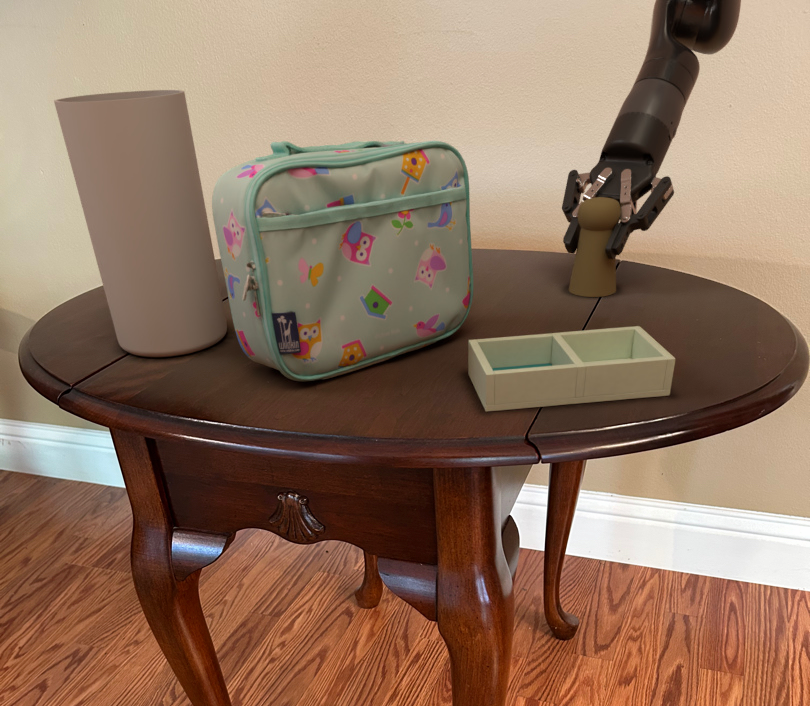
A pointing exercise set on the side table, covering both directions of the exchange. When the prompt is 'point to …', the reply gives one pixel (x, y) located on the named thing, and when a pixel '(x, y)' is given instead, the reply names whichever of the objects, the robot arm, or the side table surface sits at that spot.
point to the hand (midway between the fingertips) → (589, 252)
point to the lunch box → (345, 253)
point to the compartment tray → (568, 368)
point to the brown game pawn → (595, 248)
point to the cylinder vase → (146, 218)
